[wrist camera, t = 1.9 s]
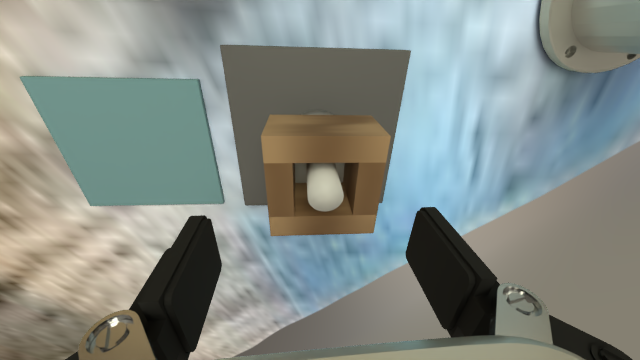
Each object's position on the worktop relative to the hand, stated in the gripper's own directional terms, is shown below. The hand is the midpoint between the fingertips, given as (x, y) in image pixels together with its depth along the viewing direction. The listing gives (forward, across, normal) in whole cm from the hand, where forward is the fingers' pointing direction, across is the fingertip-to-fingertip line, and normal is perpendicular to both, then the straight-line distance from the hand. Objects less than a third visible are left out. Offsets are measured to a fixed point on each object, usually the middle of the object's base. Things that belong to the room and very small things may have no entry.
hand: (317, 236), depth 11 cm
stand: (+13, -1, 0) cm, 13 cm away
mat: (+14, +15, +1) cm, 20 cm away
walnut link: (+7, -1, 0) cm, 7 cm away
